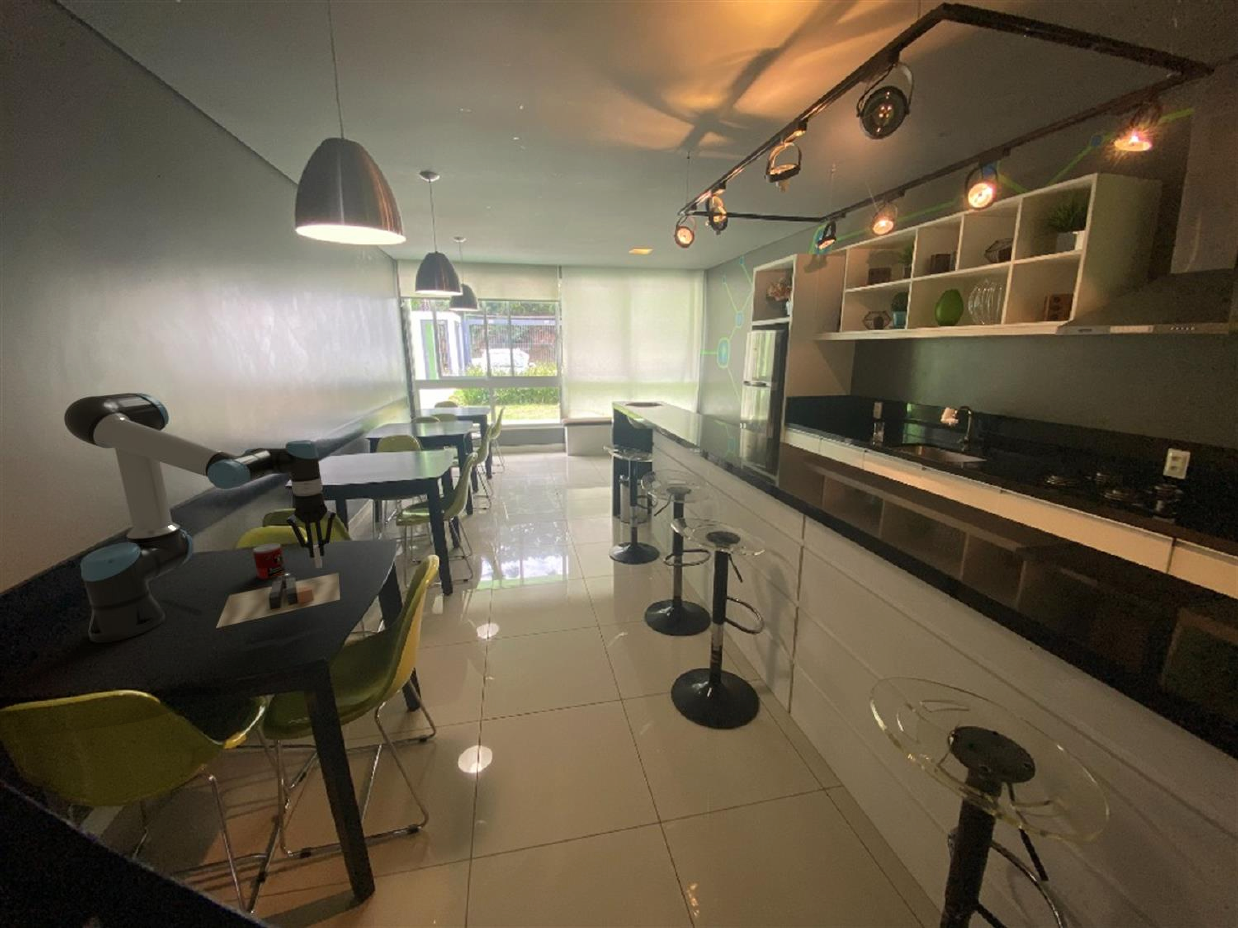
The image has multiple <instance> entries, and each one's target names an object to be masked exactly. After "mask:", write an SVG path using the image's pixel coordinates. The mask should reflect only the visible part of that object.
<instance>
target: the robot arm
mask: <svg viewBox="0 0 1238 928" xmlns="http://www.w3.org/2000/svg"><path fill="white" fill-rule="evenodd" d="M63 420H64V424H65V427H66V428H67V430H68V431H69V433H71V434H72V435H73V436H74V437H75V438H78V439H79V440H80V441H82V442H84V443H88V444H91V445H92V446H96V447H100V448H103V449H114V450H115V455H116V459H117V463H118V468H119V472H120V477H121V482H122V486H123V489H124V494H125V499H126V503H127V508H128V509H127V510H128V513H129V517H130V521H131V525H132V528H131V530H130V531H128V533H126V537H127V541H126V542H119V543H114V544H110V545H109V546H104V547H101V548H98V549H97V550H94V551H92V552H90V553H88V554H86V555H85V556H84V557H83V558H82V559H81V562H80V564H79V565H80V570H81V571H80V572H81V573H80V575H81V578H82V581H83V583H84V587H85V590H86V593H87V597H88V599H89V604H90V606H91V617H90V622H89V628H88V636H89V639H90V641H91V642H93V643H99V644H101V643H102V644H104V643H111V642H118V641H124V640H126V639H130V638H133V637H136V636H139V635H142V634H144V633H146V632H148V631H151V630H153V629H155V628H157V627H158V626H160V625H161V624H162V623H163V622H164V621H165V620H166V615H165V612H164V609H163V608H162V607H161V605H160V604H159V603H158V601H156V599H155V598H154V597H153V596H152V593H151V591H150V587H149V582H150V581H152V580H154V579H156V578H158V577H161V576H163V575H165V574H166V573H168V572H171V571H173V570H175V569H178V568H179V567H181V566H182V565H183V564H185V563H186V562H188V561H189V560H190V558H191V557H192V555H193V553H194V551H195V550H194V549H195V544H194V540H193V538H192V537H191V535H189V534H188V532H187V531H185V530H184V529H181V526H180V525H179V524H177V523H175V522H173V520H172V514H171V509H170V505H169V499H168V495H167V490H166V485H165V481H164V476H163V475H164V474H163V471H162V466H161V463H163V464H165V465H170V466H171V467H176V468H178V469H182V470H185V471H187V472H190V473H194V474H197V475H199V476H204V477H207V479H208V480H209V482H210V483H211V484H212V485H213V486H214V487H216V488H218V489H221V490H222V489H223V490H230V489H233V488H234V489H235V488H239V487H242V486H244V485H246V484H249V483H252V482H254V481H256V480H257V481H258V480H259V479H262V478H265V477H268V476H269V475H288V474H289V477H290V483H291V488H292V490H291V491H292V493H293V494H294V495H293V502H294V508H295V509H294V511H293V514H292V515H291V516H288V517H287V518H286V523H287V524H288V525H289V526H290V527H291V528H292V530H293V533H294V536H295V537H296V540H297V541H298V543H299V545H300V547H301V548H303V549H304V548H306V549H308V551H309V558H311V559H313V558H314V561H315V562H314V563H315V568H316V569H319V568H322V567H323V562H322V557H324V556H325V554H326V553H325V545H328V544H329V543H330V542H331V537H332V535H331V534H332V528H333V521H334V519H335V517H336V515H337V512H336V510H330V509H328V506H326V502H325V495H324V492H323V491H322V490H323V482H322V476H321V469H320V462H319V461H320V460H319V456H320V455H319V453H318V449H317V445H316V442H314V441H313V440H307V439H306V440H304V439H302V440H293V441H288V442H286V444H285V447H284V448H280V447H279V448H276V447H275V448H272V447H271V448H265V447H264V448H263V447H257V448H248V449H247V450H245V451H244V453H242V454H241V455H234V454H231V453H228V452H224V451H222V450H220V449H216V448H213V447H209V446H208V445H204V444H201V443H198V442H194V441H192V440H190V439H185V438H183V437H179V436H176V435H174V434H170V433H168V432H165V431H162V430H163V429H165V428H166V426H167V425H168V424H169V421H170V417H169V412H168V410H167V408H166V407H165V405H164V404H163V403H162V402H161V401H160V400H158V399H157V398H155V396H152V395H151V394H147V393H143V392H135V393H134V392H127V393H124V392H123V393H115V394H107V395H104V394H103V395H94V396H87V397H82V398H79V399H77V400H75V401H74V402H72V403H71V404H70V405H69V406H68V407H67V408H66V409H65V412H64V417H63ZM325 515H326V517H327V524H326V531H325V536H324V537H325V538H323V532H322V525H321V521H322V520H323V518H324V517H325ZM297 519H298V520H299V521H300V522H302V523H303V524H304V527H305V532H306V540H307V541H306V540H305V537H304V535H303V533H302V531H301V529H300V527H299V525H298V523H297V521H298V520H297ZM312 523H313V524H314V525H315V530H316V531H315V532H316V537H317V544H315V545H314V539H313V532H312Z"/></svg>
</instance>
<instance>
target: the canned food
mask: <svg viewBox="0 0 1238 928" xmlns="http://www.w3.org/2000/svg"><path fill="white" fill-rule="evenodd" d="M281 547H282V546H281V544H280V543H278V542H277V543H276V542H272V543H271V542H269V543H264V544H261V545H258V546H255V547H254V548H253V549H252V553H253V557H254V558H253V559H254V563H255V568H256V574H257V578H258V579H265V580H266V579H271V578H276V577H277V576H278V575H279V574H281V573H285V572H286V570H285V569H286V568H285V563H284V557H283V553H282V548H281Z"/></svg>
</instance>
